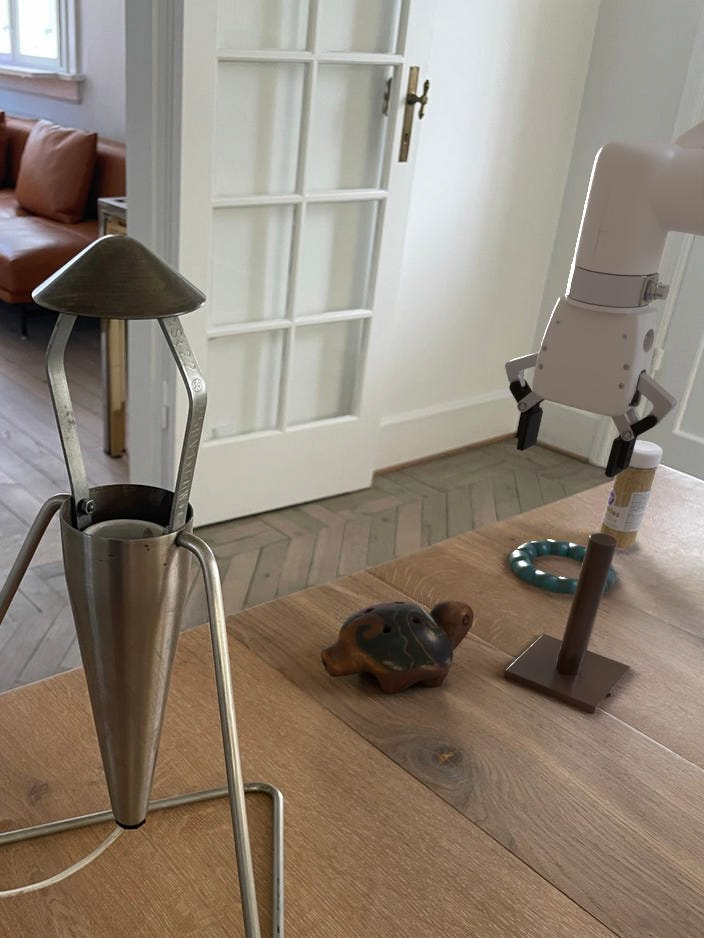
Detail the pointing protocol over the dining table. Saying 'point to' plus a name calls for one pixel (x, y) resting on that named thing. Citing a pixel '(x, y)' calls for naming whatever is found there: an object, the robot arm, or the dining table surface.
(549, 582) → the ring
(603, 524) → the sprinkles bottle
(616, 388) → the robot arm
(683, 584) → the dining table surface
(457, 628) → the decorative turtle
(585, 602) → the post
